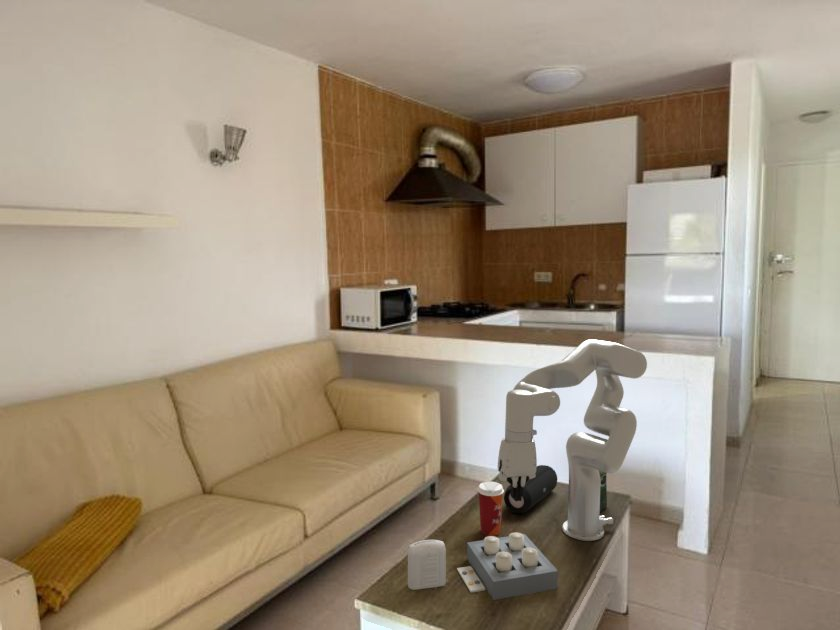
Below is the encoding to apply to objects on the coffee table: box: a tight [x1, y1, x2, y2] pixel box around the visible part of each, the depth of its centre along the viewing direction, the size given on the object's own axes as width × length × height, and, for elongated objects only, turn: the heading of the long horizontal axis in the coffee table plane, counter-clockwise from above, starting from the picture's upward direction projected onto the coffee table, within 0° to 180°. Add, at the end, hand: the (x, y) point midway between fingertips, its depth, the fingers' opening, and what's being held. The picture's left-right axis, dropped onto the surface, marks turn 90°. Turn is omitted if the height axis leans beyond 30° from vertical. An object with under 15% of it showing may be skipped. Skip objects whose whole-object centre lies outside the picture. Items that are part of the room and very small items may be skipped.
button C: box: [483, 536, 499, 556], centre depth 159 cm, size 4×4×5 cm
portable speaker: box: [503, 464, 558, 514], centre depth 200 cm, size 26×10×10 cm, turn 143°
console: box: [466, 533, 559, 601], centre depth 156 cm, size 18×20×5 cm
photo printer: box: [407, 539, 447, 591], centre depth 151 cm, size 10×4×12 cm, turn 103°
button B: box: [521, 548, 538, 569], centre depth 153 cm, size 4×4×5 cm
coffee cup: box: [477, 481, 505, 537], centre depth 179 cm, size 8×8×15 cm
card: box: [457, 565, 486, 593], centre depth 154 cm, size 4×11×1 cm, turn 15°
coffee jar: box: [598, 470, 608, 512], centre depth 195 cm, size 10×8×19 cm
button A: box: [508, 532, 524, 552], centre depth 161 cm, size 4×4×5 cm
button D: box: [495, 552, 513, 573], centre depth 151 cm, size 4×4×5 cm
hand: (516, 499), depth 159 cm, fingers closed
